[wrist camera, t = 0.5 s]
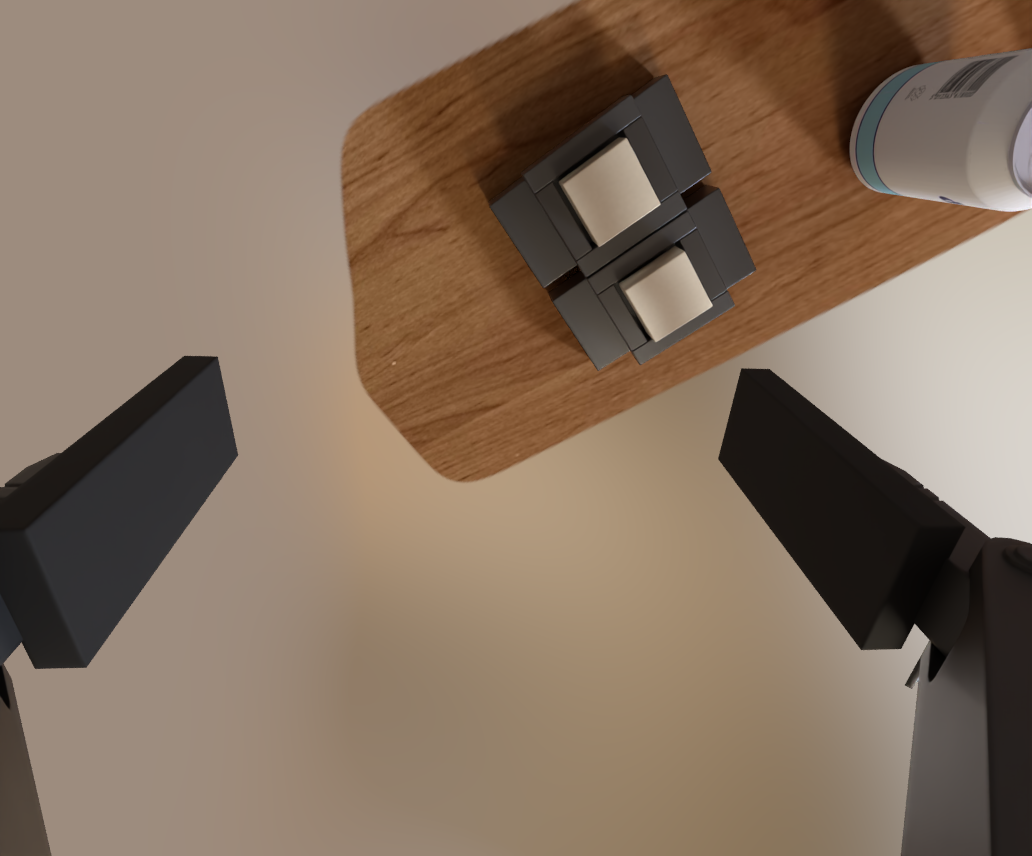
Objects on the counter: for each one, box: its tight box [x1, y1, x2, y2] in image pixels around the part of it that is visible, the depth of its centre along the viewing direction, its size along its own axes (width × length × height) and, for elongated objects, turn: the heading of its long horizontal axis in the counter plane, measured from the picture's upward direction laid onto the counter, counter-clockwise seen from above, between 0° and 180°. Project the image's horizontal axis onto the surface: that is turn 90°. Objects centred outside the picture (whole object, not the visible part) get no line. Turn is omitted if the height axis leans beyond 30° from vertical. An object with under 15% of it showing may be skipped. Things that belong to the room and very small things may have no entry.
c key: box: [559, 137, 660, 247], centre depth 31 cm, size 4×4×2 cm
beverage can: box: [850, 48, 1032, 211], centre depth 30 cm, size 7×7×12 cm
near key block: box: [489, 74, 711, 288], centre depth 34 cm, size 12×7×4 cm, turn 124°
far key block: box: [549, 185, 756, 371], centre depth 36 cm, size 12×7×4 cm, turn 124°
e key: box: [619, 246, 712, 342], centre depth 34 cm, size 4×4×2 cm
